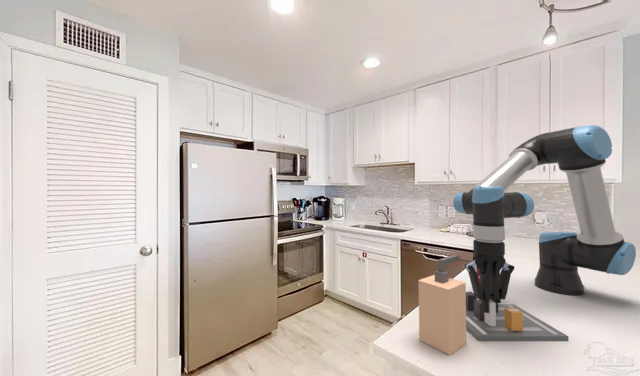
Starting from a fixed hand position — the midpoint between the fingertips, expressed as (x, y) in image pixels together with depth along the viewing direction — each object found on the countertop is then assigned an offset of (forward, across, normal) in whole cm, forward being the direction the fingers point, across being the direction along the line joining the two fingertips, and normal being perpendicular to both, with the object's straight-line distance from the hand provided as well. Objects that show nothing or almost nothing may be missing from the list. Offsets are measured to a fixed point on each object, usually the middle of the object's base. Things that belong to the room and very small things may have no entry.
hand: (490, 323), depth 74 cm
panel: (+3, -6, -6) cm, 10 cm away
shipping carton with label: (+1, -7, 0) cm, 7 cm away
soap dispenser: (+3, +14, +3) cm, 14 cm away
